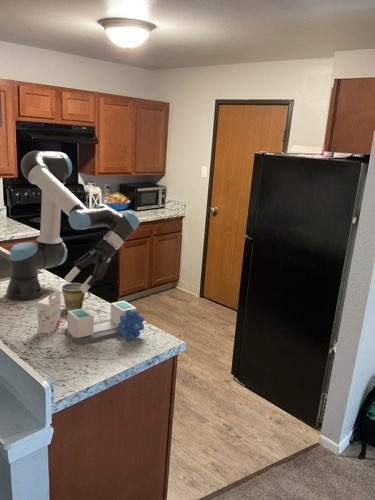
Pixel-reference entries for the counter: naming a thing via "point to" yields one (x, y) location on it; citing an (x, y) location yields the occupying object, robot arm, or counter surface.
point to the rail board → (95, 324)
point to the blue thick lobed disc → (131, 324)
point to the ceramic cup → (73, 296)
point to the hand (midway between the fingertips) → (73, 286)
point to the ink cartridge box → (49, 313)
